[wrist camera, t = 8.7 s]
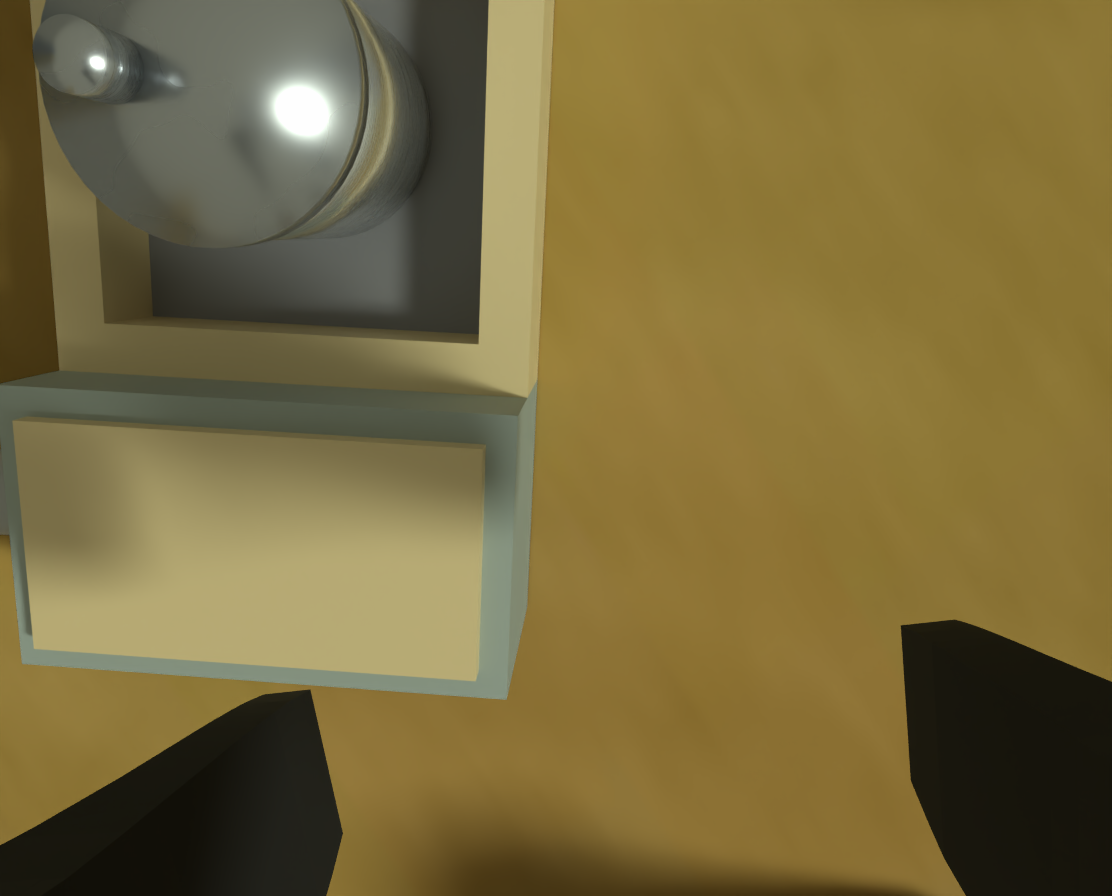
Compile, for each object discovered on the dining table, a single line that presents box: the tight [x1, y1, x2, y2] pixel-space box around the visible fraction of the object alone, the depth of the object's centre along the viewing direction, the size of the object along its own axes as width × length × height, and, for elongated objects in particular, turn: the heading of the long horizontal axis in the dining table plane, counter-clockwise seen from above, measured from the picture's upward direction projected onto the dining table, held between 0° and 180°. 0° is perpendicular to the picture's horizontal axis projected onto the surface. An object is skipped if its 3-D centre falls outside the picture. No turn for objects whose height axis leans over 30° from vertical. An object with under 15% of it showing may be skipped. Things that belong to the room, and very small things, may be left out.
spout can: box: [33, 0, 432, 248], centre depth 15 cm, size 5×5×6 cm
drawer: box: [0, 0, 554, 700], centre depth 17 cm, size 12×15×5 cm
